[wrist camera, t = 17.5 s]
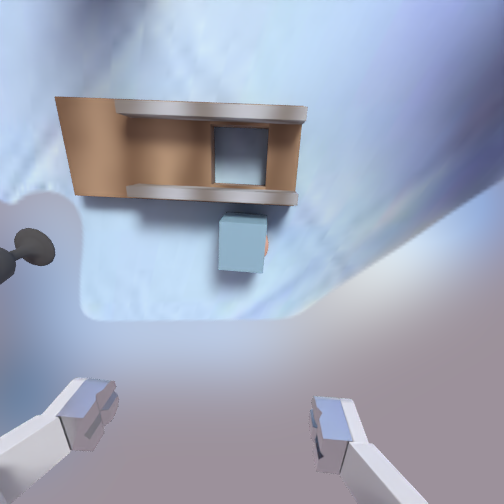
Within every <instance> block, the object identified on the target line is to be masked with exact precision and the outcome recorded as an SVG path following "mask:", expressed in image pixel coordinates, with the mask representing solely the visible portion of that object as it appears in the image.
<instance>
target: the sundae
mask: <svg viewBox="0 0 504 504" xmlns="http://www.w3.org/2000/svg"><path fill="white" fill-rule="evenodd" d="M14 242H15V247H16V250H13V251H10V252H8V251H7V250H5V249H3V248H0V284H2V283H3V282H4V281H6V280H7V279H8V278H10V277H11V276H12V275H13V274H14V271H15V267H16V262H15V261H16V260H18V259H20V258H23V259H24V260H26V261H27V262H29V263H31V264H33V265H38V266H45V265H48V264H50V263H51V262H52V261H53V259H54V257H55V248H54V246H53V243H52V242H51V240H50V239H49V238H48V237H47V236H46V235H45V234H43V233H42V232H40V231H38V230H36V229H31V228H26V229H22V230H20V231H19V232H18V233H17V234H16V236H15V239H14Z"/></svg>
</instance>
